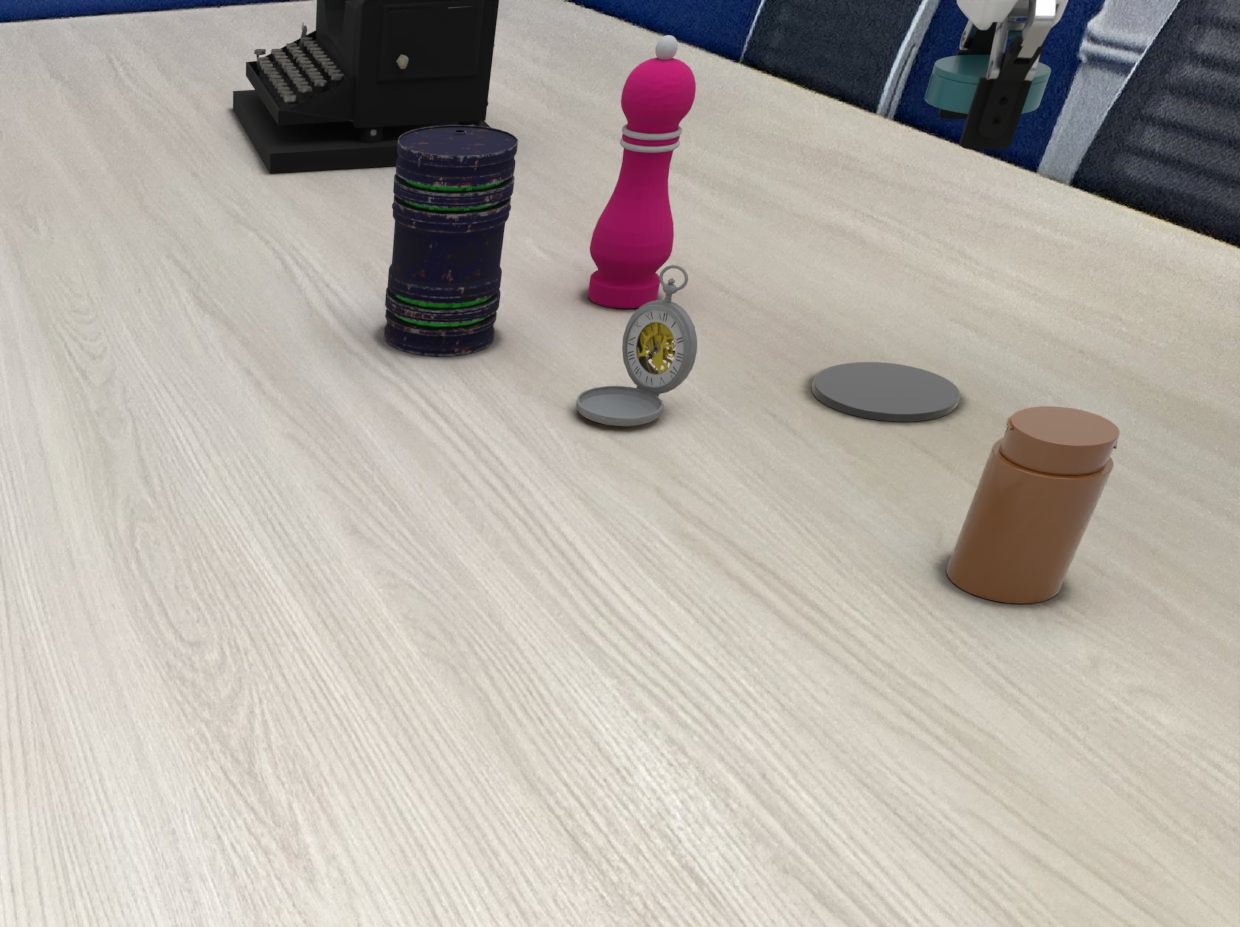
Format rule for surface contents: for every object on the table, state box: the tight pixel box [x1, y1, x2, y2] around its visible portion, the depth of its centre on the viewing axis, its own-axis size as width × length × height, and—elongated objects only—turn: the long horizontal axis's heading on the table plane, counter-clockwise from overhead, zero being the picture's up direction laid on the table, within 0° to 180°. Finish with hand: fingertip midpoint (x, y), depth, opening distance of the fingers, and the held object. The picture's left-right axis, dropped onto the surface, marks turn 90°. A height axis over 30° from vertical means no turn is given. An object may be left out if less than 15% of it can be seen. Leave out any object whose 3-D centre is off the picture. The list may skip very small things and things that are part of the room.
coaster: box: [811, 361, 961, 423], centre depth 115 cm, size 11×11×1 cm
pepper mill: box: [587, 34, 697, 310], centre depth 125 cm, size 7×7×20 cm
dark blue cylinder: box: [383, 125, 519, 357], centre depth 121 cm, size 10×10×15 cm
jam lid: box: [923, 55, 1052, 115], centre depth 99 cm, size 7×7×2 cm
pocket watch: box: [575, 264, 698, 427], centre depth 110 cm, size 8×8×10 cm
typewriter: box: [232, 0, 500, 175], centre depth 167 cm, size 31×27×25 cm
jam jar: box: [946, 405, 1121, 605], centre depth 90 cm, size 7×7×10 cm
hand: (972, 130), depth 101 cm, fingers closed on jam lid, 7 cm apart
